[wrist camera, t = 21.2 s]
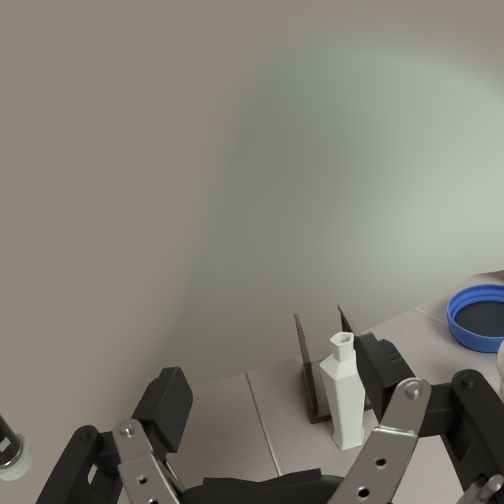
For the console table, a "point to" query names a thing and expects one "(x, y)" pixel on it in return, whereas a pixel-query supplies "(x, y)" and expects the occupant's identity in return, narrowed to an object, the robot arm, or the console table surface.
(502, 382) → the lightbulb
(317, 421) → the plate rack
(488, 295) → the bowl
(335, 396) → the perfume bottle
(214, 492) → the robot arm
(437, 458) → the console table surface
